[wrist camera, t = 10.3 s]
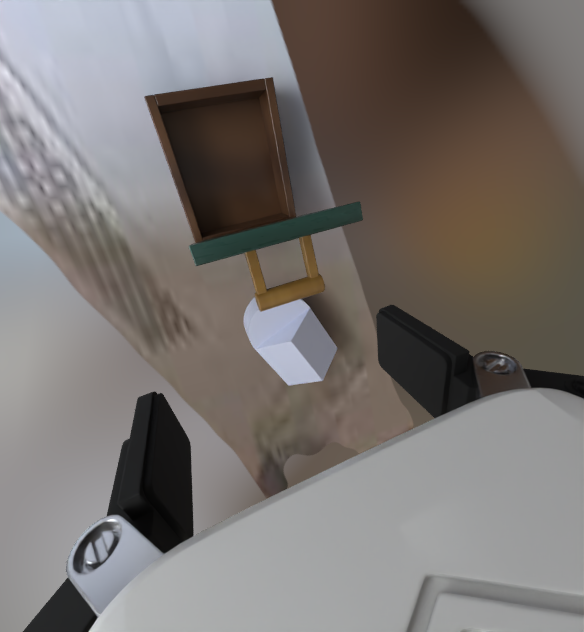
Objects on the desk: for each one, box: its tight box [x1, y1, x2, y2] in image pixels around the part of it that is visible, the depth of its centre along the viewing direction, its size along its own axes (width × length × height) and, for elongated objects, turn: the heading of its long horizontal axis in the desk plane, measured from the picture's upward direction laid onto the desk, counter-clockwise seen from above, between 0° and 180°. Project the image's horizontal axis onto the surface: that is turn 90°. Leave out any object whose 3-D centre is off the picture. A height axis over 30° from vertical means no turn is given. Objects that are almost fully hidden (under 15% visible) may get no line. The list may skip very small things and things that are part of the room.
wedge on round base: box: [244, 297, 337, 385], centre depth 38 cm, size 9×7×13 cm
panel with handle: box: [189, 202, 363, 312], centre depth 24 cm, size 13×11×6 cm
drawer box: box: [144, 77, 296, 242], centre depth 29 cm, size 13×11×4 cm
